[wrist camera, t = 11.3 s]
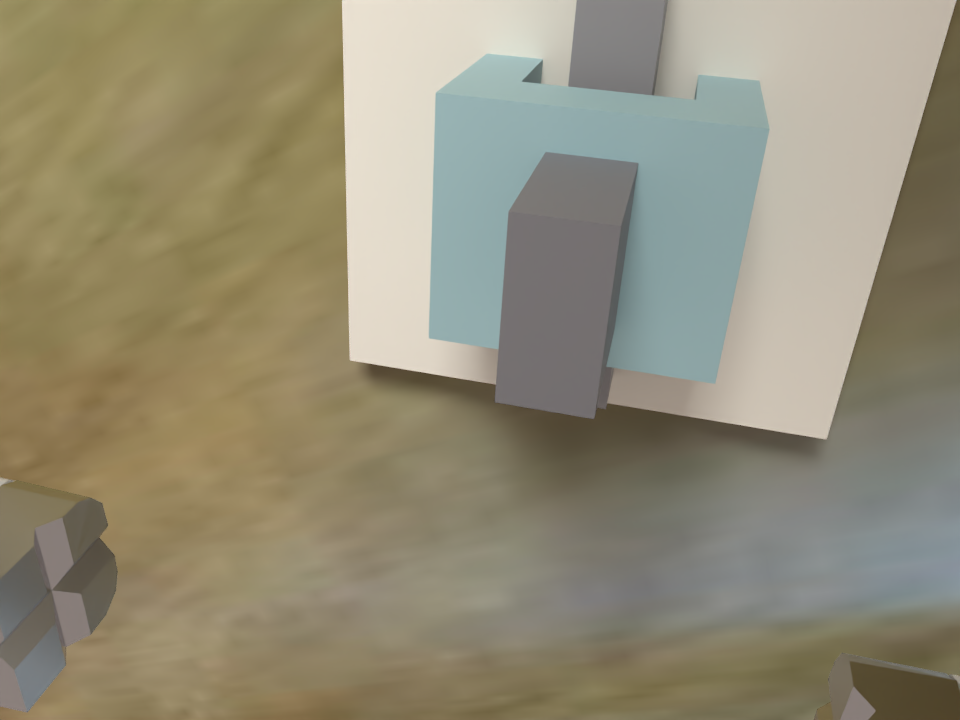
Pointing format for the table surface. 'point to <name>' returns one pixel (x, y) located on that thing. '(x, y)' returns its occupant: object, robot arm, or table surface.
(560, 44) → the cleat board
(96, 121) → the table surface
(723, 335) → the block
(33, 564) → the robot arm
